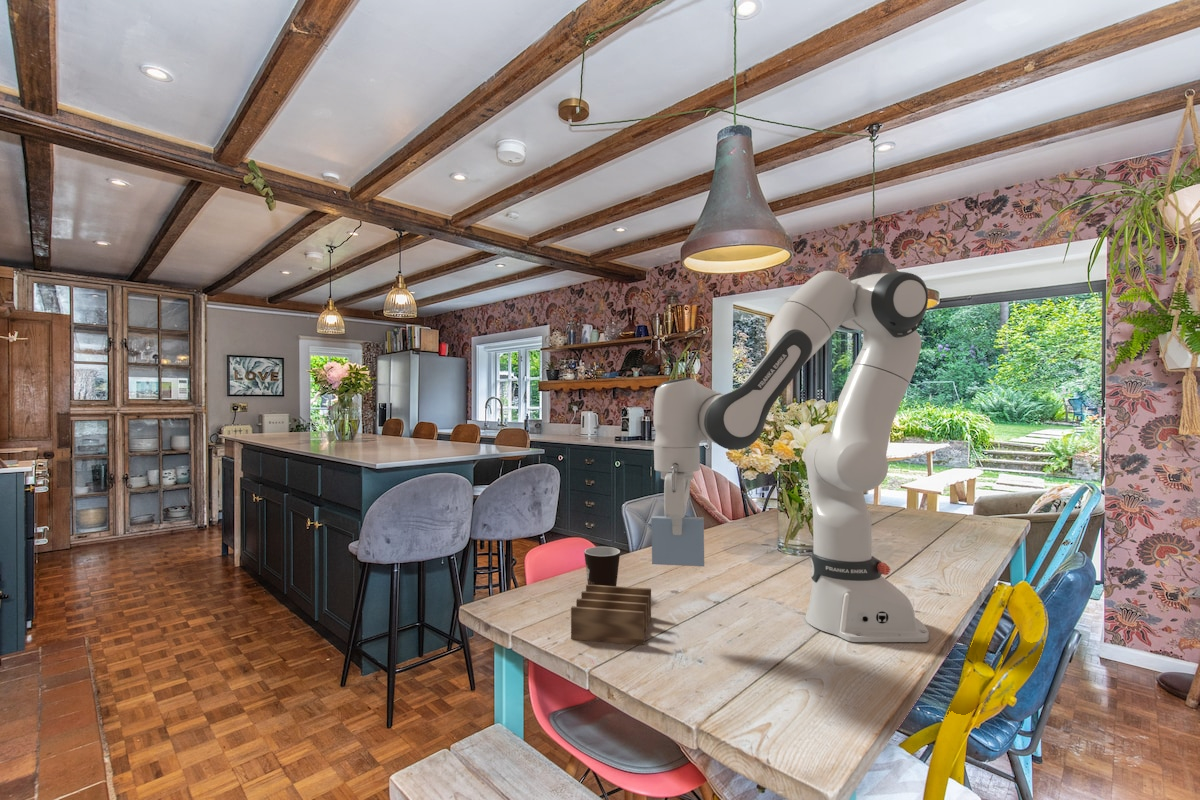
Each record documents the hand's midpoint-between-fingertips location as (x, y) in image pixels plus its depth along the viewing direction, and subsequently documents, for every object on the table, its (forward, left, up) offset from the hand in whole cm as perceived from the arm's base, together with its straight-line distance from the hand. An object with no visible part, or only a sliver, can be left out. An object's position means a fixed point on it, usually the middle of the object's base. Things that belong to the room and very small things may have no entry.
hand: (678, 532), depth 108 cm
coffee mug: (+19, -23, -21) cm, 36 cm away
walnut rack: (+13, -2, -20) cm, 24 cm away
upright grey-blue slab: (0, 0, -6) cm, 6 cm away
